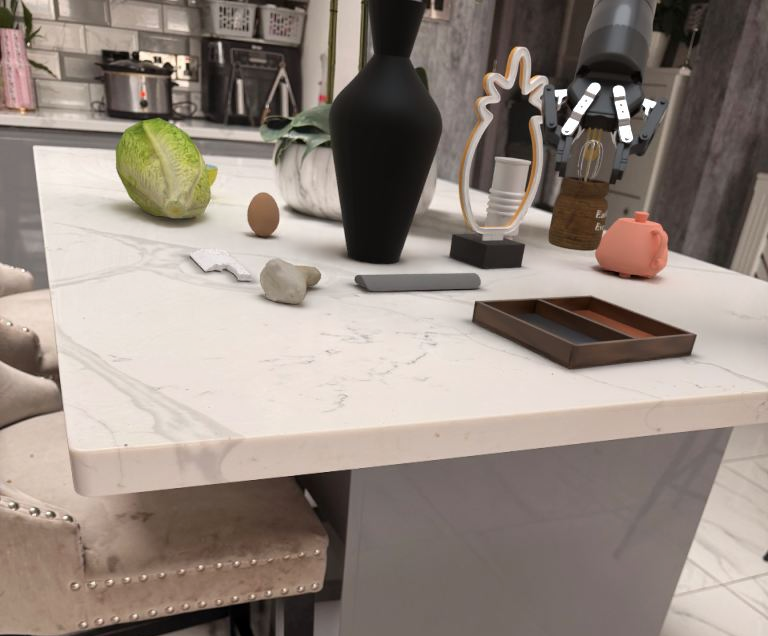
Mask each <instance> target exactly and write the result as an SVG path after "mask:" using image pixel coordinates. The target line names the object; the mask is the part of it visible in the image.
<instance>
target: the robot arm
mask: <svg viewBox="0 0 768 636" xmlns="http://www.w3.org/2000/svg"><path fill="white" fill-rule="evenodd" d="M657 3H658V0H593V4H592V5H593V6H592V10H591V14H590V18H589V20H588V22H587V25H586V27H585V30H584V35H583V39H582V44H581V47H580V52H579V57H578V60H577V65H576V69H575V72H574V73H575V74H574V78H573V80H572V82H571V83H570V84H569V85H568V86H567V88H564V89H555V88H556V87H555V86H554V84H551V83H548V84H547V85H545V86H544V89H543V95H542V96H541V100H542V120H543V124H542V132H543V135H542V136H543V142H544V143H545V144H546V145H552V144H554V145H555V146H556V147H557V149H556V153H555V158H554V162H553V163H554V164H553V169H554V172H558V174H557V175H558V176H557V177H558V178H562V179H563V178H565V177H566V173H567V169H568V165H569V160H570V156H571V150H572V145H573V144H574V143H575V141H576V140H578V139H579V138H580V137H581V135H582V134H583V133H584V132H585V130H588V129H589V127H590V128H591V131H592V130H593V131H594V129H595V128H597V130H599V131H600V129H602V132H605V133H610V137H611V141H612V144H613V145H614V147H615V152H614V156H613V161H612V166H611V170H610V171H611V172H610V175H609V179H608V182H609V185H614V186H615V185H616V183H617V181H622V180H623V178H624V176H625V173H626V170H627V165H628V162H629V161H628V160H629V157H630V156H633V155H635V156H637V157H643V156H645V155H646V154H647V152H648V150H649V148H650V146H651V144H652V142H653V141H654V138H655V136H656V134H657V133H658V131H659V129H660V128H661V125H662V123H663V121H664V119H665V116H666V112H667V109H668V106H669V99H668V98H666V97H659V98H658V99H657V101H654V100H652V99H649V98H646V95H645V92H644V90H643V86H644V80H645V75H646V69H647V65H648V60H649V56H650V52H651V51H650V50H651V45H652V40H653V30H654V29H653V28H654V25H653V24H654V19H655V14H656V9H657V5H658V4H657ZM563 104H566V106H567V107H568V109H569V111H570V112H571V114H570V116H569V118H568V119H567V121H566V122H565V123H564V125H563V126H562V125H560V124H558V114H557V113H558V112H559V111H560V110H561V108H562V105H563ZM639 113H642V114H643V116H642V120H643V122H644V124H643V126H642V128H641V130H640V132H639V134H635V135H633V132H632V128H631V120H632V119H633V118H634V117H636V116H637V115H638V114H639Z"/></svg>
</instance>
